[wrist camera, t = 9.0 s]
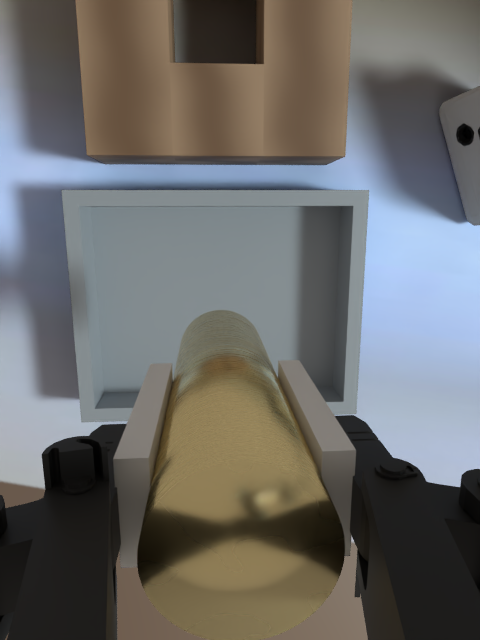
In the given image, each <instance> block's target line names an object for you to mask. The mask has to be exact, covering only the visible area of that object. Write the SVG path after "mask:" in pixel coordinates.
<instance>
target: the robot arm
mask: <svg viewBox="0 0 480 640" xmlns="http://www.w3.org/2000/svg"><path fill="white" fill-rule="evenodd" d="M278 379H279V381H280V384H281V386H282V388H283V390H284V393H285V395H286V397H287V400H288V402H289V404H290V406H291V409H292V411H293V413H294V415H295V418H296V420H297V422H298V425H299V427H300V429H301V431H302V434H303V436H304V438H305V441H306V443H307V445H308V447H309V450H310V452H311V454H312V456H313V459H314V461H315V463H316V466H317V468H318V470H319V472H320V475H321V477H322V479H323V481H324V484H325V486H326V488H327V491H328V493H329V495H330V497H331V500H332V502H333V504H334V506H335V509H336V511H337V513H338V516H339V518H340V521H341V524H342V527H343V532H344V538H345V555H344V556H350V548H351V535H352V537H353V539H354V542H355V544H356V546H357V548H358V551H357V568H356V583H355V597H360V593H361V599H362V605H363V611H364V617H365V623H366V630H367V635H368V640H480V469H474V470H469V471H466V472H465V473H464V474H462V477H461V486H460V487H454V486H447V485H440V484H434V483H429V482H426V480H425V478H424V476H423V474H422V473H421V471H420V470H419V469H418V468H417V467H416V466H414V465H412V464H411V463H409V462H406V461H403V460H400V459H397V458H393V457H392V456H391V455H390V453H389V452H388V451H387V449H386V448H385V447H384V446H383V444H382V443H381V442H380V440H378V438H377V436H376V435H375V434H374V433H373V431H372V430H371V429H370V427H369V426H368V425H367V423H366V422H364V421H362V420H361V419H359V418H357V417H355V416H354V415H349V416H334V414H333V413H332V411H331V410H330V408H329V406H328V405H327V403H326V402H325V400H324V399H323V397H322V395H321V394H320V392H319V391H318V389H317V388H316V386H315V384H314V383H313V381H312V380H311V378H310V376H309V375H308V373H307V372H306V370H305V369H304V367H303V365H302V364H301V362H300V361H299V360H282V361H278ZM172 383H173V374H172V363H157V364H150V366H149V369H148V371H147V374H146V377H145V379H144V382H143V384H142V387H141V389H140V392H139V394H138V397H137V399H136V402H135V405H134V407H133V410H132V412H131V415H130V417H129V420H128V422H127V424H109V425H101V426H100V427H99V428H97V429H96V430H95V431H93V432H92V433H91V434H90V436H77V437H72V438H67V439H64V440H61V441H58V442H56V443H54V444H52V445H51V446H49V447H48V448H46V449H45V451H44V452H43V453H42V461H43V471H44V480H45V489H46V490H45V494H44V498H42V499H40V500H37V501H34V502H30V503H27V504H23V505H18V506H14V507H9V508H5V503H4V499H3V497H2V495H0V640H5V638H6V636H7V635H8V638H7V640H117V576H116V560H117V557H118V553H119V551H120V565H121V568H129V567H138V566H137V549H138V543H139V537H140V533H141V528H142V523H143V518H144V514H145V509H146V504H147V499H148V495H149V491H150V487H151V483H152V478H153V473H154V468H155V464H156V459H157V454H158V450H159V445H160V440H161V435H162V431H163V426H164V421H165V416H166V412H167V407H168V402H169V397H170V393H171V388H172ZM8 633H9V634H8Z"/></svg>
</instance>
